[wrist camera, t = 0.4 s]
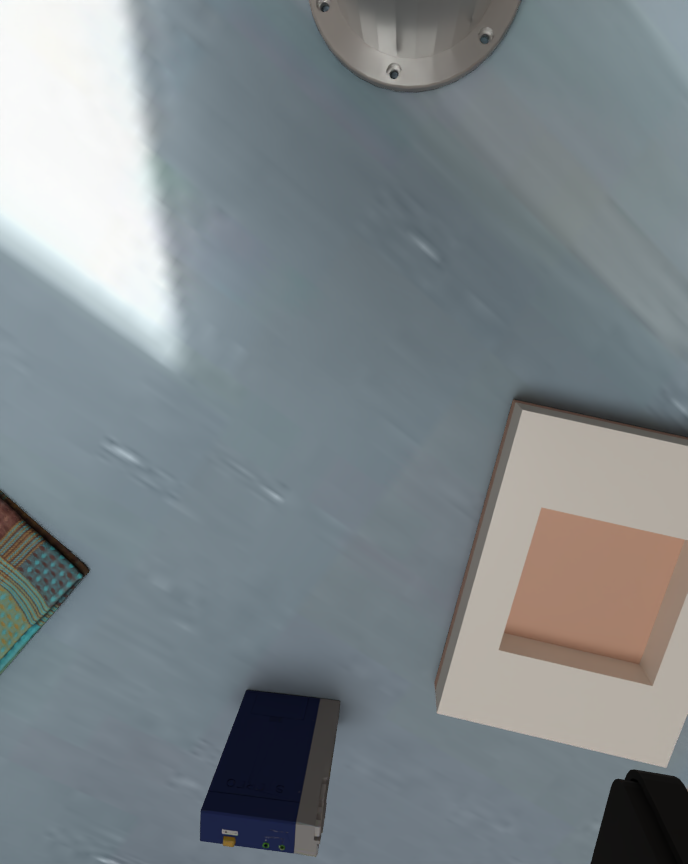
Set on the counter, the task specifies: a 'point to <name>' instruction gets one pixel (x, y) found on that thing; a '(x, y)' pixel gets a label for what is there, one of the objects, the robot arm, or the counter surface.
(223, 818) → the cassette player
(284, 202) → the counter surface
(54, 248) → the counter surface
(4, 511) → the dish towel
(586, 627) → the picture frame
